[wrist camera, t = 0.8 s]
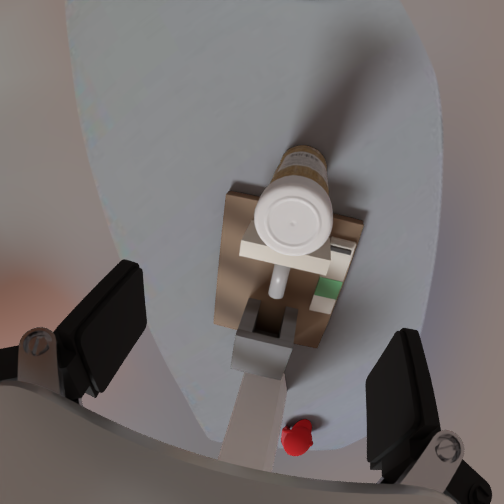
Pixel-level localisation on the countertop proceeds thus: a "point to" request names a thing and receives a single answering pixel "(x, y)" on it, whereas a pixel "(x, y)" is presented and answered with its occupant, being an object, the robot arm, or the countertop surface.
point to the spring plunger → (286, 259)
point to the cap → (297, 438)
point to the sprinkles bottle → (296, 204)
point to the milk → (255, 423)
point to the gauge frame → (267, 308)
